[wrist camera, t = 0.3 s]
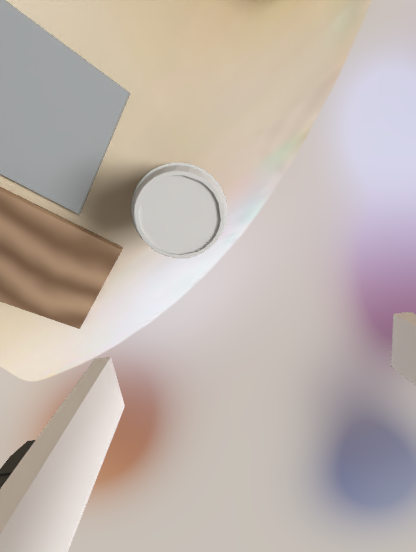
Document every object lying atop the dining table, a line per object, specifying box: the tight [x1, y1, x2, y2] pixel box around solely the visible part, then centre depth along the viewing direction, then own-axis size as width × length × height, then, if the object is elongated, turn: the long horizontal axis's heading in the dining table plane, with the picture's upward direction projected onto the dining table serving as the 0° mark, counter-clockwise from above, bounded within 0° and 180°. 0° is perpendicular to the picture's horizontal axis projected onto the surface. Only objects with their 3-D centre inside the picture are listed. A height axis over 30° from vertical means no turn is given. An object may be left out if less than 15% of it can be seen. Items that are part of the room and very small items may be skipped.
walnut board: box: [0, 187, 123, 329], centre depth 37 cm, size 18×18×1 cm
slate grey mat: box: [0, 0, 130, 214], centre depth 27 cm, size 16×16×1 cm
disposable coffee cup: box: [131, 163, 228, 258], centre depth 28 cm, size 10×10×12 cm
